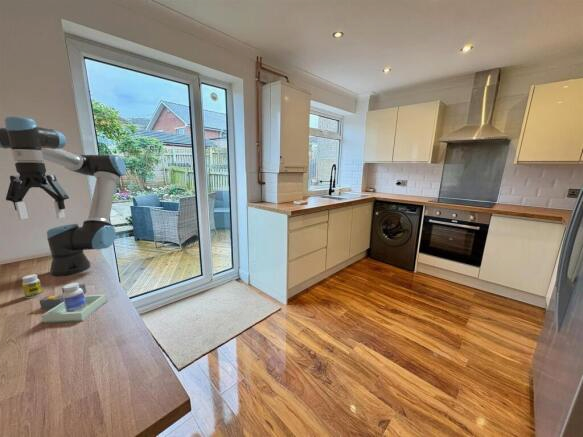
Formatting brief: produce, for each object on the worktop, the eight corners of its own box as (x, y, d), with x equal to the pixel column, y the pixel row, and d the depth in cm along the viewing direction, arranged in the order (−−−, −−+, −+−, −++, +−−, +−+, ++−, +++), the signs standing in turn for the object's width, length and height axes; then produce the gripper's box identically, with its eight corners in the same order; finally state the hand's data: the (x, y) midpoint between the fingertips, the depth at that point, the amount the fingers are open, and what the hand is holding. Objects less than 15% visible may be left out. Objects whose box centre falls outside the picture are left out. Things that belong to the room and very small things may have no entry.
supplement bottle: (31, 299, 94) (26, 279, 92) (22, 298, 95) (17, 278, 93) (45, 293, 98) (41, 274, 97) (37, 292, 99) (32, 273, 98)
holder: (68, 292, 98) (66, 283, 97) (86, 291, 99) (84, 283, 98) (41, 309, 87) (38, 299, 86) (61, 307, 87) (59, 298, 86)
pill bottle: (90, 307, 86) (84, 282, 84) (72, 316, 81) (66, 290, 79) (80, 304, 88) (75, 280, 86) (62, 312, 83) (56, 287, 81)
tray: (73, 303, 90) (72, 296, 90) (107, 301, 91) (106, 294, 91) (43, 323, 78) (41, 315, 78) (82, 321, 79) (80, 313, 79)
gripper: (-20, 162, 83) (-4, 221, 87) (56, 161, 85) (68, 219, 89) (4, 162, 90) (18, 217, 94) (73, 162, 92) (84, 215, 96)
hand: (42, 218), depth 92 cm, fingers open, 13 cm apart
